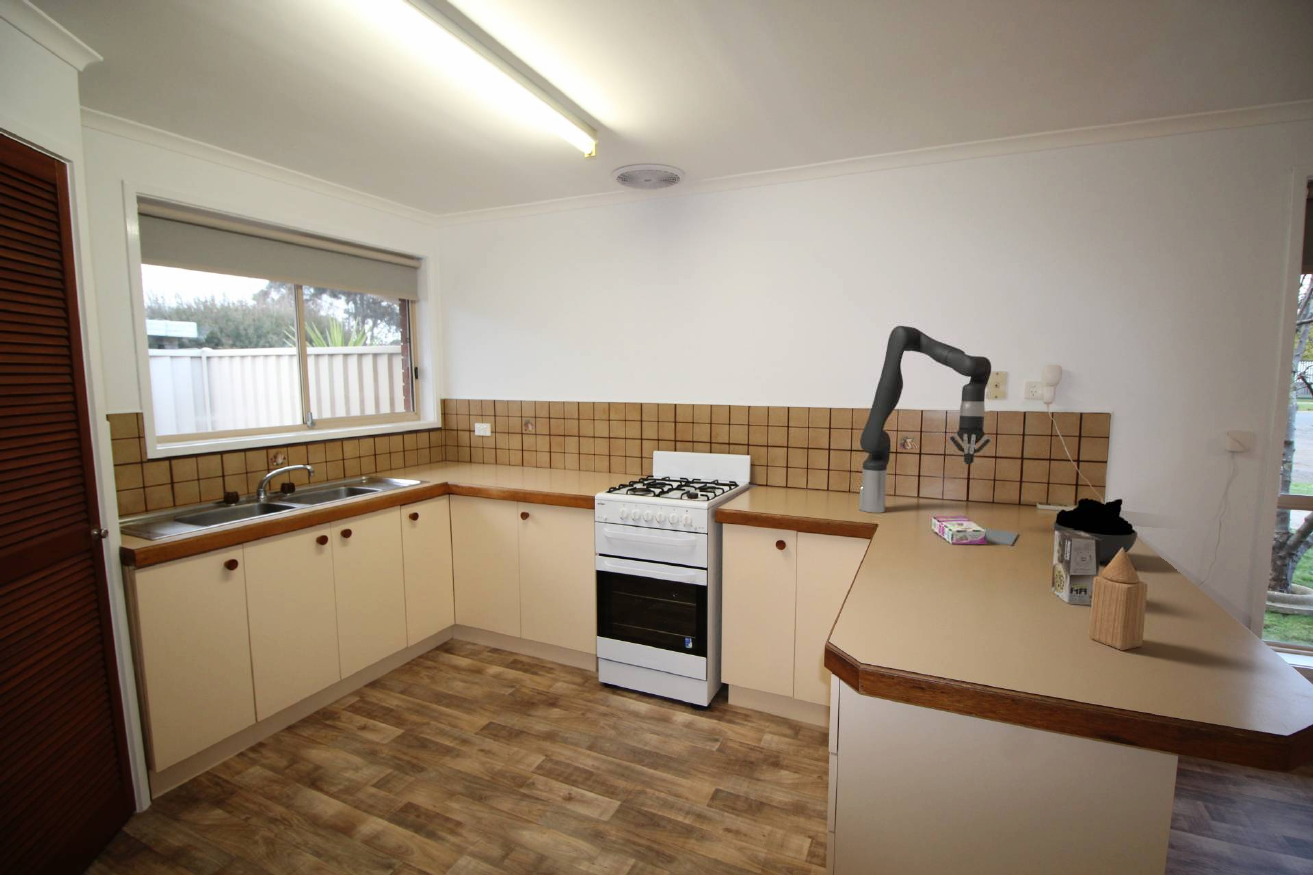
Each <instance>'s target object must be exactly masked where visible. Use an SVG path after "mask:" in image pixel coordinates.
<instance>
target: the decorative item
mask: <svg viewBox="0 0 1313 875" xmlns="http://www.w3.org/2000/svg"><path fill="white" fill-rule="evenodd" d="M1147 596H1148V583H1146V582H1144V581H1141V580H1140V576H1139V575H1138V573H1137V571H1136V570H1135V568H1134V566H1133V564H1132V561H1131V560H1130V558H1129V556H1128V554H1127V553H1126V552H1125V550H1124V548H1123V547H1122V548H1121V549H1120V551H1119V552H1118V553H1117V554H1116V556H1115V557H1114V558H1113V559H1112V560H1110V562H1109V563H1108V565H1106V567H1105V568H1104V569H1103V571H1101V575H1098V577H1095V578H1094V580H1093V593H1092V605H1090V606H1091V607H1090V608H1091V609H1090V610H1091V611H1090V620H1089V622H1090V623H1089V633H1088V637H1089V638H1090V639H1091V640H1094V641H1097V642H1100V643H1101V644H1104V645H1107V646H1109V645H1110V647H1111V646H1112V648H1114V647H1115V649H1116V648H1117V649H1116V650H1119V649H1120V650H1119V651H1126V649H1127V650H1131V649H1135V648H1138V647H1141V646H1142V645H1143V644H1144V642H1143V641H1144V630H1145V620H1146V607H1147Z"/></svg>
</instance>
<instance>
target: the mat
mask: <svg viewBox="0 0 1313 875" xmlns="http://www.w3.org/2000/svg"><path fill="white" fill-rule="evenodd" d="M982 528H983V529H984V530H986V543H991V544H997V545H1003V546H1011V547H1012V546H1013V544H1014V542H1015V540H1016V539H1017V538H1018V536H1019V532H1016V531H1008V530H1000V529H993V528H985V527H982Z"/></svg>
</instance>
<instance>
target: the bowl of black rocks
mask: <svg viewBox="0 0 1313 875" xmlns="http://www.w3.org/2000/svg"><path fill="white" fill-rule="evenodd" d="M1077 504H1078V505H1077V506H1076V507H1074V508H1073V509H1070V510H1065V509H1061V510H1060V511H1059V512H1058V513H1056V520H1055V521H1054V522H1053V529H1054V532H1055V530H1075V531H1083V532H1086V533H1088V534H1090V535H1092V536H1094V537H1096V538H1099V539H1101V549H1100V561H1099V563H1101V562H1108V561H1112V559H1113V558H1114V557H1115V556H1116V554H1117V553H1118V552H1119V551H1120V549H1121V548H1122V547H1123V548H1124V550H1125V552H1126V554H1127V553H1129V551H1130V550H1131V549H1132V548H1133V546H1134V544H1135V543H1136V542H1137V538H1138V532H1137V530H1135V529H1133V528H1134V527H1133V525H1132V523H1130V522H1129V521H1128V520H1126V519H1125V518H1124V517H1122V516H1120V515H1121V512H1122V504H1123V499H1122V498H1117V499H1114V500H1112V501H1107V502H1105V503H1103V502H1101V501H1098V500H1095V499H1093V498H1091V499H1089V498H1087V497H1085V498H1081V499H1079V500H1078V501H1077Z"/></svg>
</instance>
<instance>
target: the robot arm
mask: <svg viewBox="0 0 1313 875" xmlns="http://www.w3.org/2000/svg"><path fill="white" fill-rule="evenodd" d="M888 336H889V337H888V340H887V344H886V345H887V346H886V350H885V357H884V361H883V362H884V363H883V366H882V369H881V373H880V377H879V381H878V383H877V387H876V390H875V395H874V399H873V401H872V404H871V408H870V412H869V415H868V418H867V421H866V423H865V426H864V429H863V430H862V433H861V436H860V439H859V442H860V443H859V444H860V447H861V449H862V451H863V452H864V453H867V454H868V455H867V458H866V459H865V460H864V461H863V462H862V476H861V479H862V480H861V481H862V482H861V486H860V488H859V511H862V512H866V513H877V514H879V513H880V514H881V513H885V512H886V494H887V493H886V491H887V473H888V472H887V470H888V465H889V462H890V456H891V447H892V446H891V445H892V444H891V438H890V435H889V433H888V432H887V431H886V430H884V428H885V426H886V422H887V420H888V419H889V418H890V415H891V414H892V413H893V412H894V410H895V409H896V407H897V405H898V404H899V401H900V399H901V397H902V391H903V389H904V380H903V375H902V368H901V366H902V359H903V356H904V352H914V353H920V354H923V355H926V356H928V357H929V358H931V359H932V360H934V362H936V363H939V364H941V365H942V366H946V367H948V368H950V369H952V370H953V371H955V373H957V374H959V375H962V376H964V377H967V378H968V377H969V378H970V379H969V382H968V383H967V384H964V385H963V386H962V388H961V401H960V402H961V403H960V407H959V422H958V430H957V431H956V434H954V435H953V436H949V439H950V441H951V442H952V443H953V445H954V446H955V447H956V449H957V450H958V451H959V452H962V453H963V454H964V455H963V462H964V463H965V465H972V464H973V463H974V461H975V460H974V459H975V454H977V453H980V452H982V450H983V449H985V447H986V446H987V445H988V444H989V443H990V442H992V439H991V438H989V437H988V436H986V434H985V433H986V432H985V431H984V426H985V414H986V408H985V398H986V394H985V393H986V388H987V386H988V382H989V380H990V377H991V373H992V363H991V361H990V359H989V358H987V357H986V356H980V355H979V356H976V355H975V356H974V355H969V354H966V352H965V351H964V350H962V349H960V348H957V347H955V346H952V345H949V344H947V343H944V342H941V341H938V340H937V339H935V338H932V337H931V336H929V335H927V334H926V333H924V332H923V331H921V330H920V329H918V328H916V327H913V326H907V325H906V326H905V325H897V326H895V327H894V328H893V329H892V330H891V332H890V334H889V335H888ZM959 440H960V441H961V442H962V443H963V445H962V444H961V443H960V441H959ZM980 441H981V444H980V445H979V446H978V447H977V444H978V443H979V442H980Z"/></svg>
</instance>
